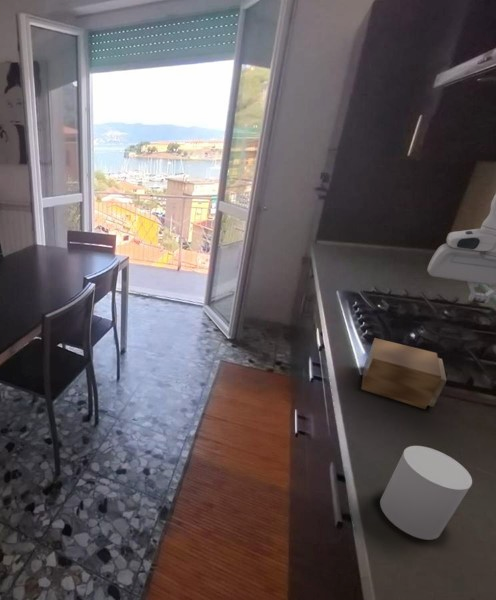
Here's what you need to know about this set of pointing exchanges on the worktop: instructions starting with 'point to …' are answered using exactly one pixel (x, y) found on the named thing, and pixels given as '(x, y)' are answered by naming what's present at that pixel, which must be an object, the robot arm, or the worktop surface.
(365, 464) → the worktop surface
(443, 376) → the drawer
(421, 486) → the cup
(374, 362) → the cabinet
